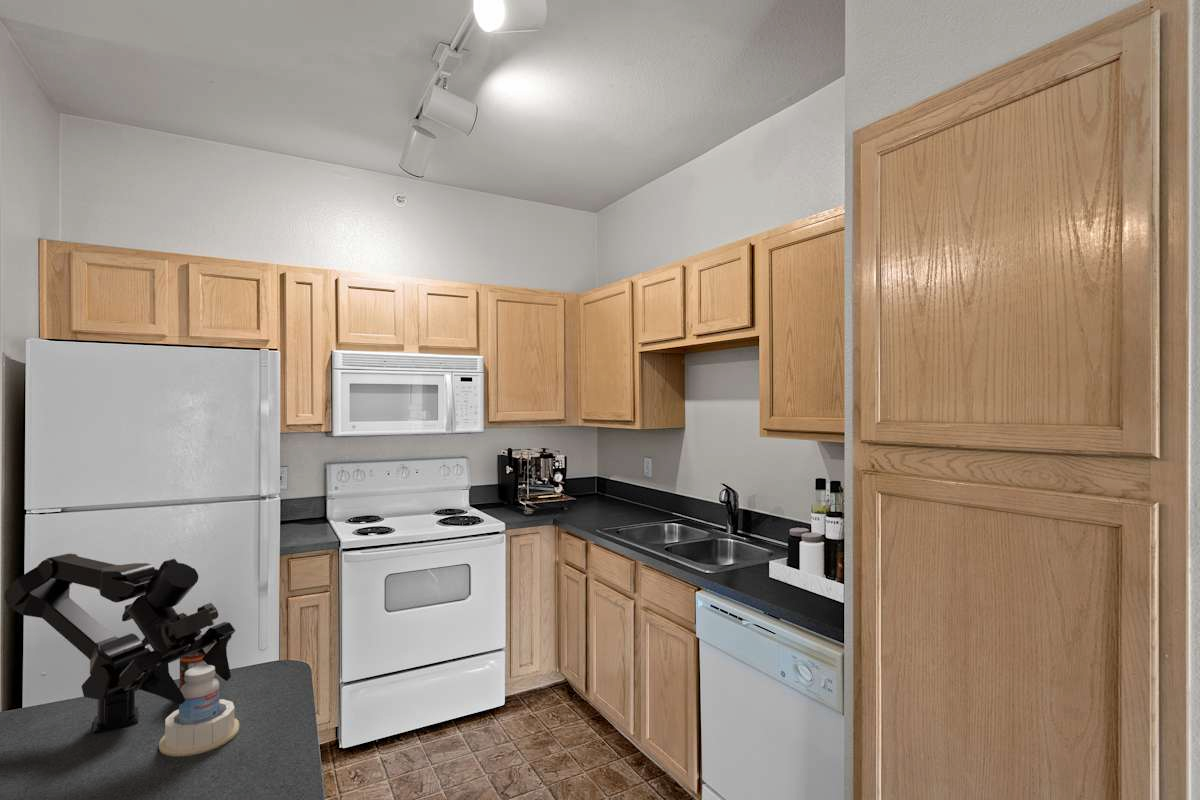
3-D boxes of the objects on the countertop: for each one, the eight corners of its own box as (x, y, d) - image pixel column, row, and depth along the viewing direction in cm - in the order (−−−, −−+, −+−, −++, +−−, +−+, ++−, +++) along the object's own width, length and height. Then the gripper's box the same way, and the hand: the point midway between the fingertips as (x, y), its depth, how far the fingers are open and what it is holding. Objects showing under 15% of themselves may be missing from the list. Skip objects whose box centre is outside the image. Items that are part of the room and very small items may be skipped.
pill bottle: (198, 744, 105) (198, 679, 105) (169, 739, 107) (170, 675, 107) (227, 726, 111) (227, 664, 111) (200, 722, 113) (200, 661, 113)
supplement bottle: (177, 690, 126) (178, 636, 126) (211, 682, 130) (211, 629, 130) (181, 701, 122) (181, 645, 122) (215, 692, 126) (216, 637, 126)
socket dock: (157, 733, 110) (158, 710, 110) (234, 713, 117) (234, 691, 117) (160, 765, 100) (160, 739, 100) (243, 740, 108) (244, 716, 108)
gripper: (132, 611, 101) (183, 686, 98) (228, 579, 119) (274, 642, 116) (96, 653, 103) (146, 727, 100) (196, 616, 121) (240, 678, 118)
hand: (206, 690), depth 109 cm, fingers open, 9 cm apart
